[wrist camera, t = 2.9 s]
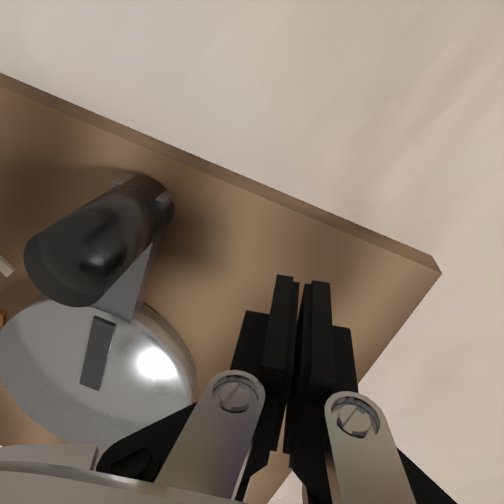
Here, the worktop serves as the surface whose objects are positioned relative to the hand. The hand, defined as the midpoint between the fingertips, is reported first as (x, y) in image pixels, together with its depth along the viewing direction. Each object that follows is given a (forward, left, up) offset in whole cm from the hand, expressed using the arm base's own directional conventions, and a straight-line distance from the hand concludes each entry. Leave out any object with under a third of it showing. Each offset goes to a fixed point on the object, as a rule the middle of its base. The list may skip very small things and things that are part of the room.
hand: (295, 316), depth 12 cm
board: (+7, +10, -6) cm, 14 cm away
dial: (+7, +7, -4) cm, 10 cm away
